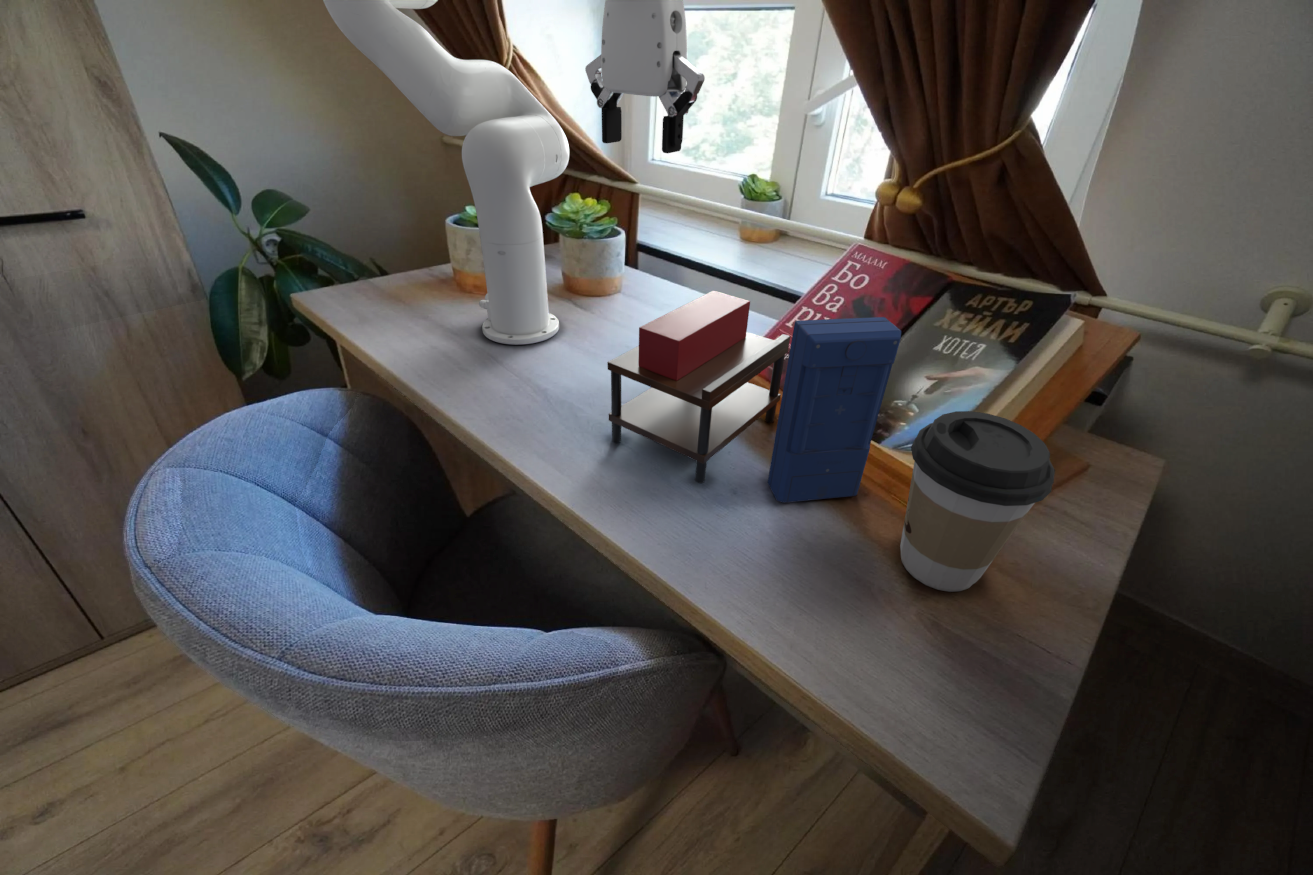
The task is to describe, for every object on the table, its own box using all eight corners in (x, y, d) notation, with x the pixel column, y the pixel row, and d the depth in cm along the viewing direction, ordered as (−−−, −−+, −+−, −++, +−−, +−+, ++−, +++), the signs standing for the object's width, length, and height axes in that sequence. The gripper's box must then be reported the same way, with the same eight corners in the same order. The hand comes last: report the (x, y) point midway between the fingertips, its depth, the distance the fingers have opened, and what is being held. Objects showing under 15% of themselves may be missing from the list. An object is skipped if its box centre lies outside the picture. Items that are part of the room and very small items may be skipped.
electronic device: (840, 471, 72) (881, 312, 61) (859, 499, 68) (907, 334, 56) (764, 477, 70) (791, 316, 59) (779, 506, 66) (811, 338, 55)
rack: (608, 440, 76) (607, 352, 69) (690, 386, 88) (696, 307, 81) (701, 485, 69) (710, 392, 62) (776, 420, 81) (790, 336, 74)
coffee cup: (883, 513, 66) (921, 393, 57) (997, 544, 62) (1056, 421, 54) (872, 586, 57) (915, 457, 49) (1004, 626, 53) (1075, 496, 45)
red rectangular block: (638, 366, 69) (638, 327, 66) (710, 325, 79) (713, 290, 76) (676, 381, 66) (678, 341, 63) (746, 337, 76) (750, 301, 73)
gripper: (727, -20, 66) (713, 152, 75) (606, -19, 74) (608, 136, 84) (687, -25, 61) (678, 160, 70) (563, -23, 69) (570, 142, 79)
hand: (640, 147), depth 77 cm, fingers open, 9 cm apart
